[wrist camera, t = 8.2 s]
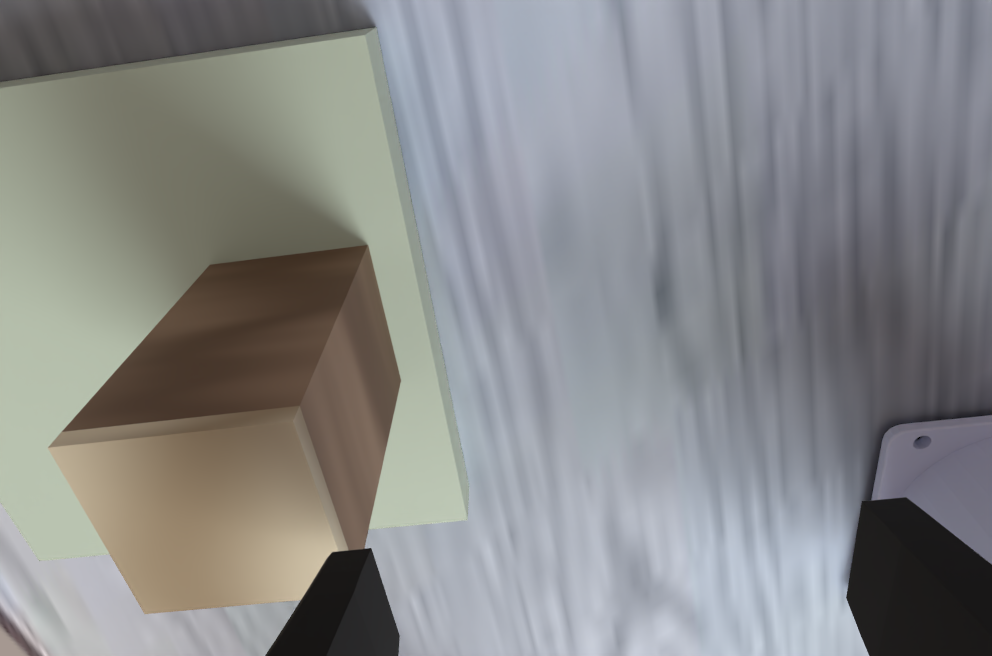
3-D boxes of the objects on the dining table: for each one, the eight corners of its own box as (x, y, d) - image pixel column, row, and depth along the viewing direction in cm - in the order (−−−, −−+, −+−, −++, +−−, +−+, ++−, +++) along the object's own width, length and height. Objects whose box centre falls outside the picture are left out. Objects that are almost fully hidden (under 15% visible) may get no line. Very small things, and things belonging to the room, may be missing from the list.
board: (376, 27, 16) (364, 34, 14) (469, 486, 22) (467, 520, 21) (-191, 109, 17) (-250, 124, 15) (64, 526, 23) (39, 561, 22)
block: (368, 244, 17) (293, 421, 11) (401, 380, 19) (354, 594, 12) (209, 264, 17) (48, 448, 11) (258, 396, 19) (144, 614, 13)
